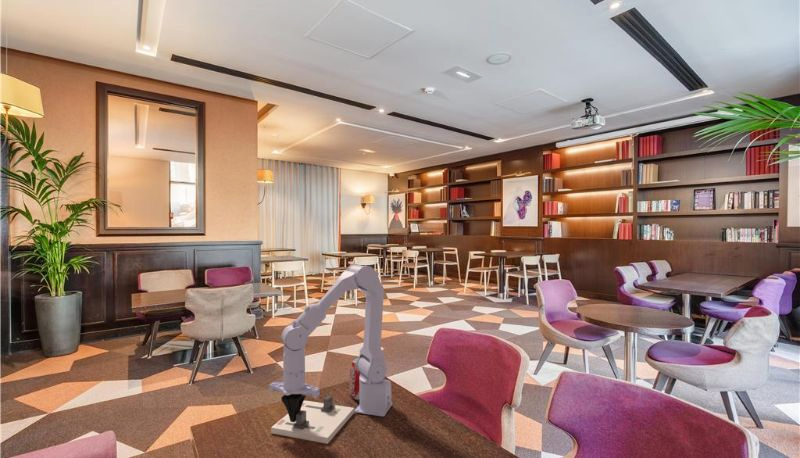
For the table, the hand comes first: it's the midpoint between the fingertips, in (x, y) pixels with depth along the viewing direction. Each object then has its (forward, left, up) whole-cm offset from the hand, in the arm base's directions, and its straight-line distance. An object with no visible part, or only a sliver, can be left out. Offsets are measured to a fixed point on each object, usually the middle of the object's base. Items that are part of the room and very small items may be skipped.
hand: (294, 420), depth 95 cm
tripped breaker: (-2, 0, -1) cm, 2 cm away
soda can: (-9, -23, -3) cm, 25 cm away
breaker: (-5, -10, -1) cm, 11 cm away
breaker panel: (-3, -5, -3) cm, 7 cm away
